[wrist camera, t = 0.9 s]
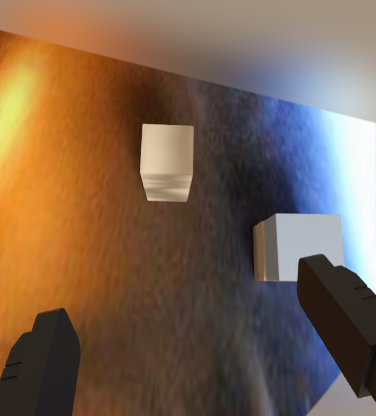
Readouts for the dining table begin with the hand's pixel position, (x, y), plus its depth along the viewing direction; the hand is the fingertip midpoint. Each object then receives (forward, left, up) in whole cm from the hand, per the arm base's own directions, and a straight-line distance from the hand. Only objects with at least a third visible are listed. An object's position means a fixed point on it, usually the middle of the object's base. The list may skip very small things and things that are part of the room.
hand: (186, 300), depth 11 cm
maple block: (-1, +12, -25) cm, 28 cm away
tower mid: (+12, +4, -21) cm, 25 cm away
